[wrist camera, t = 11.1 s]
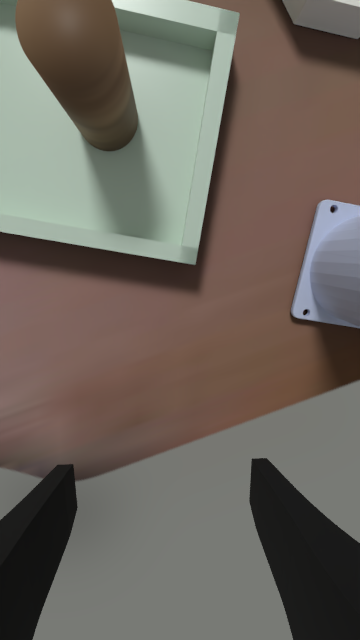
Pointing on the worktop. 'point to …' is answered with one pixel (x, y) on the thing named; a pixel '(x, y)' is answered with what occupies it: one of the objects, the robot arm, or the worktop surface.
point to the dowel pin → (82, 65)
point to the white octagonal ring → (327, 15)
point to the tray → (138, 155)
